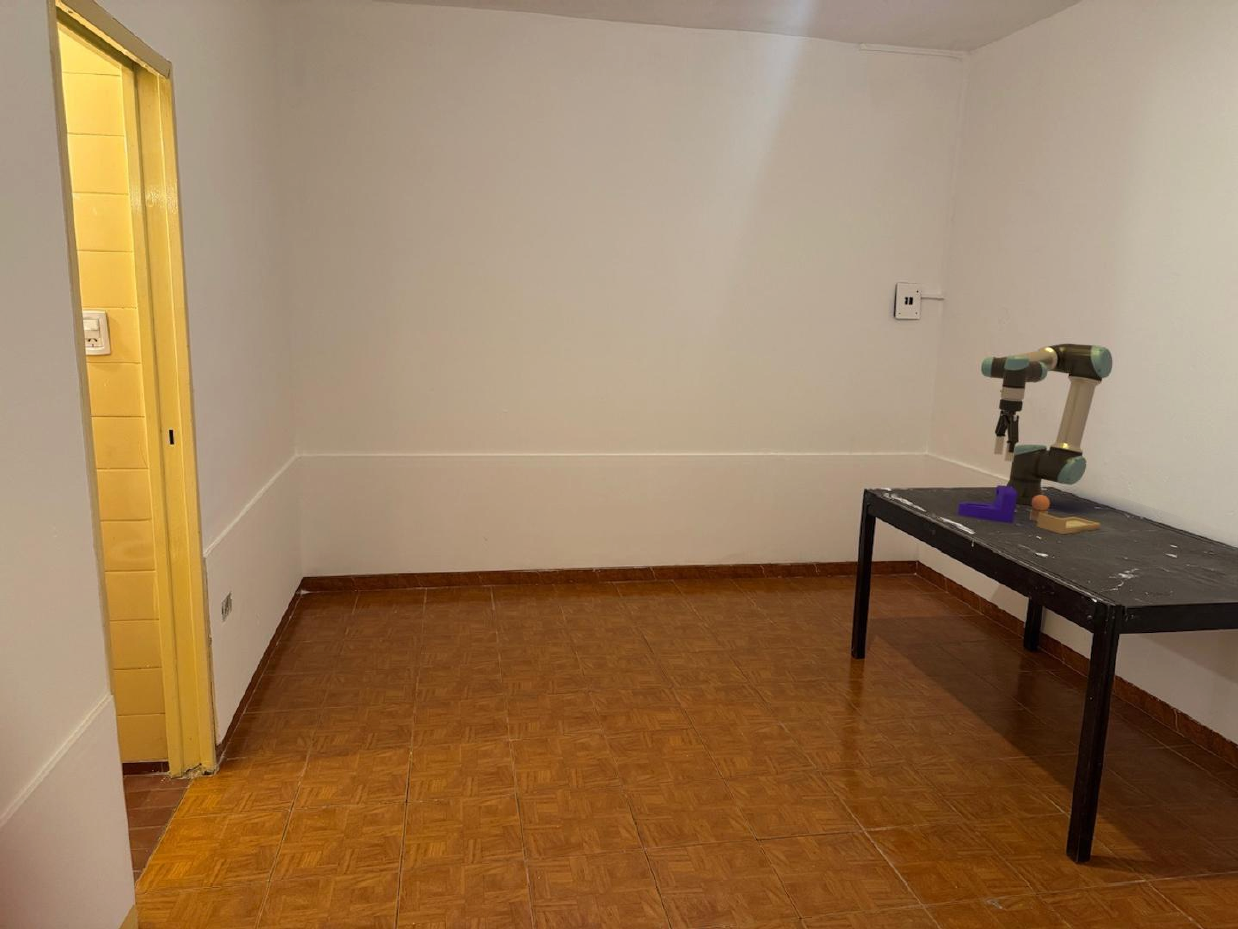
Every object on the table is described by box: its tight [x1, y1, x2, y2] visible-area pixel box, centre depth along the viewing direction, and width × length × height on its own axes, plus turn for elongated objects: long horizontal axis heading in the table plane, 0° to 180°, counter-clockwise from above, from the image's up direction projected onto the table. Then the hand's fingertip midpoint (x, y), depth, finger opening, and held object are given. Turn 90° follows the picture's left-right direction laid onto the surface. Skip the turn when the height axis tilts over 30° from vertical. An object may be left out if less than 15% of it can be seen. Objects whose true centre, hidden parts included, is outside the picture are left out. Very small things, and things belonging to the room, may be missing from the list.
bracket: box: [957, 484, 1017, 524], centre depth 319 cm, size 18×11×12 cm, turn 79°
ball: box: [1031, 494, 1051, 511], centre depth 318 cm, size 6×6×6 cm
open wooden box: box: [1029, 508, 1049, 523], centre depth 319 cm, size 4×4×4 cm
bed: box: [1036, 513, 1101, 535], centre depth 310 cm, size 22×10×5 cm, turn 119°
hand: (1003, 457), depth 313 cm, fingers open, 13 cm apart
